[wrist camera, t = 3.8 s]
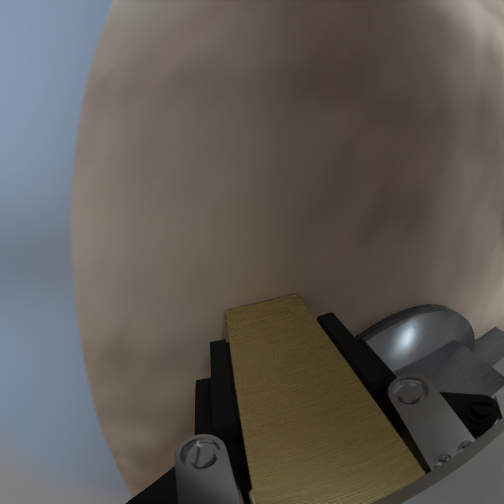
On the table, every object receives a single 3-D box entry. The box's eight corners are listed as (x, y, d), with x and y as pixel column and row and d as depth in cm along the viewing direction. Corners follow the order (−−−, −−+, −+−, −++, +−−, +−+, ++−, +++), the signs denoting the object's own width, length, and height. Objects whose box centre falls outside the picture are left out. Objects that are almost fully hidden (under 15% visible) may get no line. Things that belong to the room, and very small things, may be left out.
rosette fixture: (270, 352, 12) (329, 511, 4) (507, 261, 14) (587, 297, 6) (296, 486, 16) (322, 563, 8) (468, 404, 18) (512, 449, 10)
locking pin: (225, 310, 11) (273, 582, 2) (296, 293, 11) (451, 511, 2) (240, 366, 12) (289, 585, 2) (303, 350, 12) (408, 543, 3)
